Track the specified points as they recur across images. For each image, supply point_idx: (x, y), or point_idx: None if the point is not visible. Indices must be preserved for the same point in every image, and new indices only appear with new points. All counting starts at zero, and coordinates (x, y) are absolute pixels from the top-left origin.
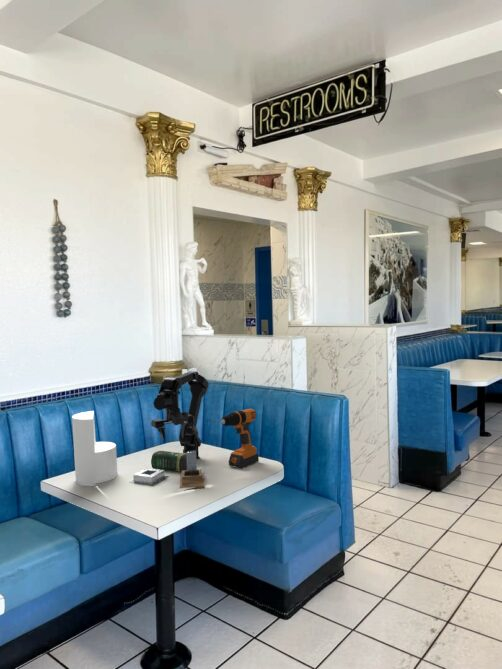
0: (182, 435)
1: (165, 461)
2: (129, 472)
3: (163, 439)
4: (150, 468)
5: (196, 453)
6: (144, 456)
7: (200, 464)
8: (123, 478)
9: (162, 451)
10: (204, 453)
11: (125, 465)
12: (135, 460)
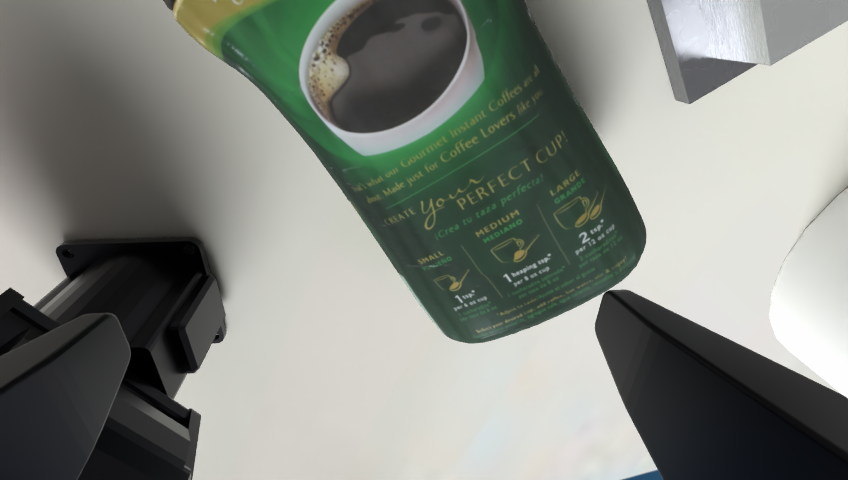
0: (90, 387)
1: (555, 63)
2: (703, 254)
3: (670, 324)
4: (764, 9)
5: (68, 285)
6: (453, 467)
7: (89, 71)
8: (824, 153)
9: (513, 276)
10: None
11: None
12: (532, 433)
